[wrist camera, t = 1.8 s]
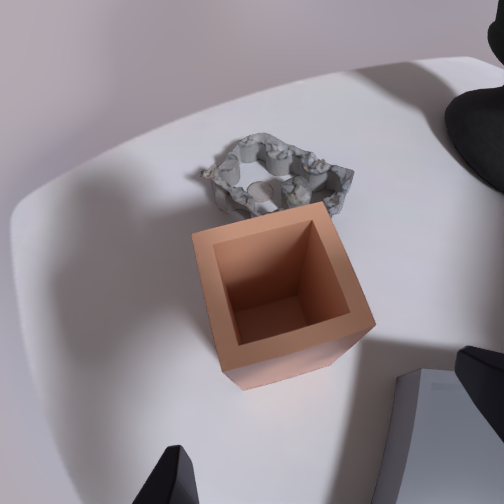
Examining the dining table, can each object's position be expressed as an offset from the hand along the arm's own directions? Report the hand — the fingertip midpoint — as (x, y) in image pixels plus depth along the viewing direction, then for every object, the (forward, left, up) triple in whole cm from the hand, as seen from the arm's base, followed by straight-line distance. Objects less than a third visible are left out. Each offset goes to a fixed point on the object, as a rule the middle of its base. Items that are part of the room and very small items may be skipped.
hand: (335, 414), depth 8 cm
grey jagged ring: (+16, +5, -13) cm, 21 cm away
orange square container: (+5, +3, -12) cm, 13 cm away
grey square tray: (-5, -14, -12) cm, 19 cm away
